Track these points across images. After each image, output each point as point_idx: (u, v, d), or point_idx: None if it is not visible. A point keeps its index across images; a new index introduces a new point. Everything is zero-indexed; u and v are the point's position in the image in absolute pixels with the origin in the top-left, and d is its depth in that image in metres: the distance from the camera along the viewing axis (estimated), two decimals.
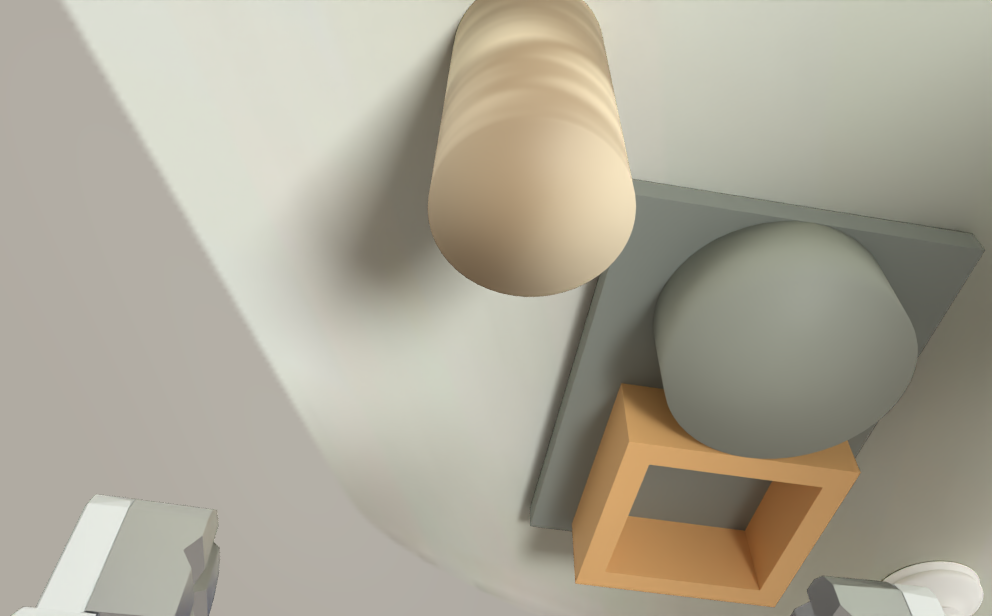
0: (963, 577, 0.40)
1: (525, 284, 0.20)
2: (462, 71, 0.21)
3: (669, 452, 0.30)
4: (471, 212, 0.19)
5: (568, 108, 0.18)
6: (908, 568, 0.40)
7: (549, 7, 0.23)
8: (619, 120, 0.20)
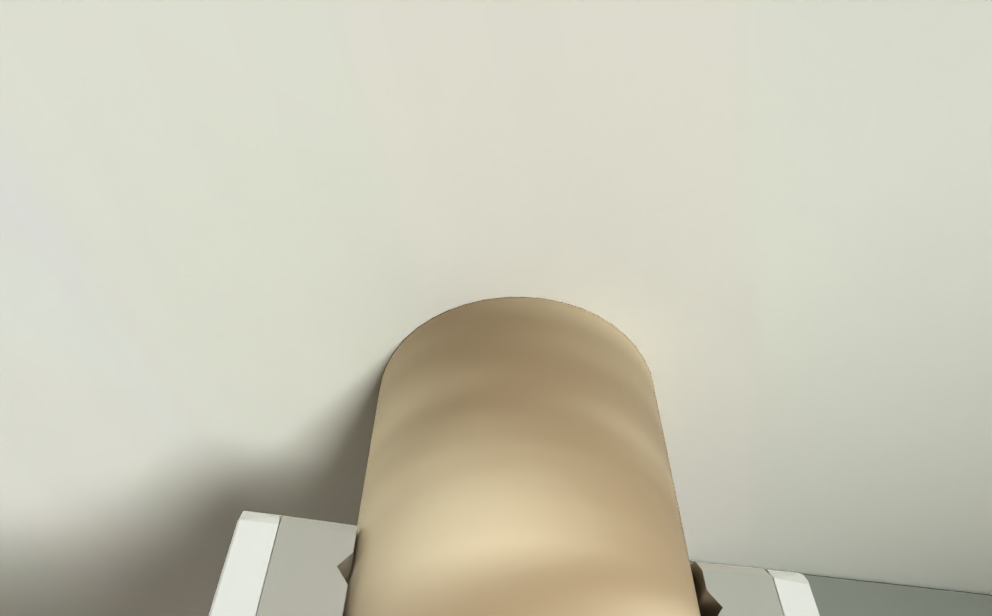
0: None
1: None
2: None
3: None
4: None
5: None
6: None
7: (559, 403, 0.11)
8: None
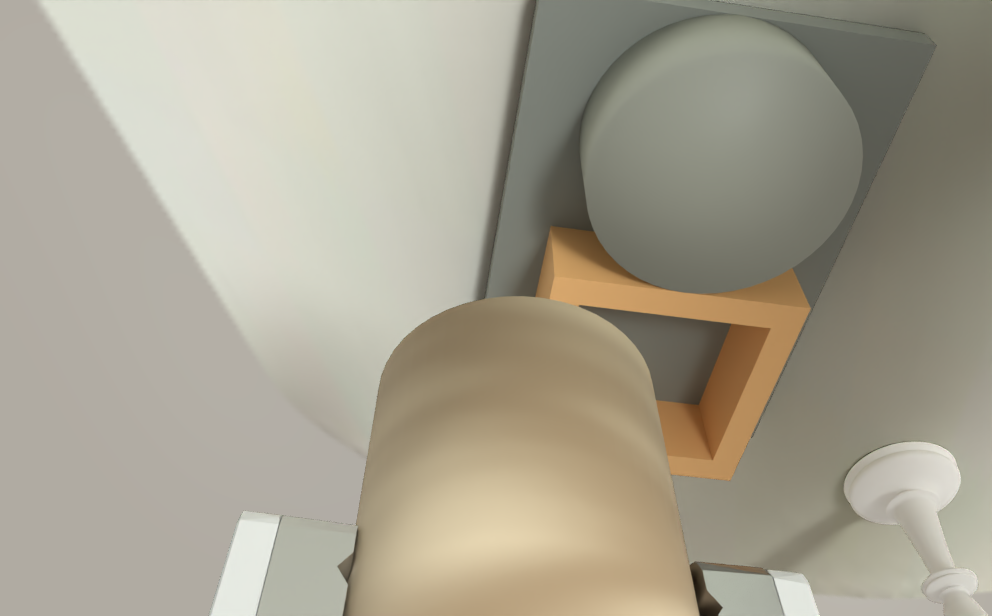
0: (938, 457, 0.37)
1: None
2: None
3: (599, 288, 0.28)
4: None
5: None
6: (879, 450, 0.38)
7: (557, 403, 0.11)
8: None
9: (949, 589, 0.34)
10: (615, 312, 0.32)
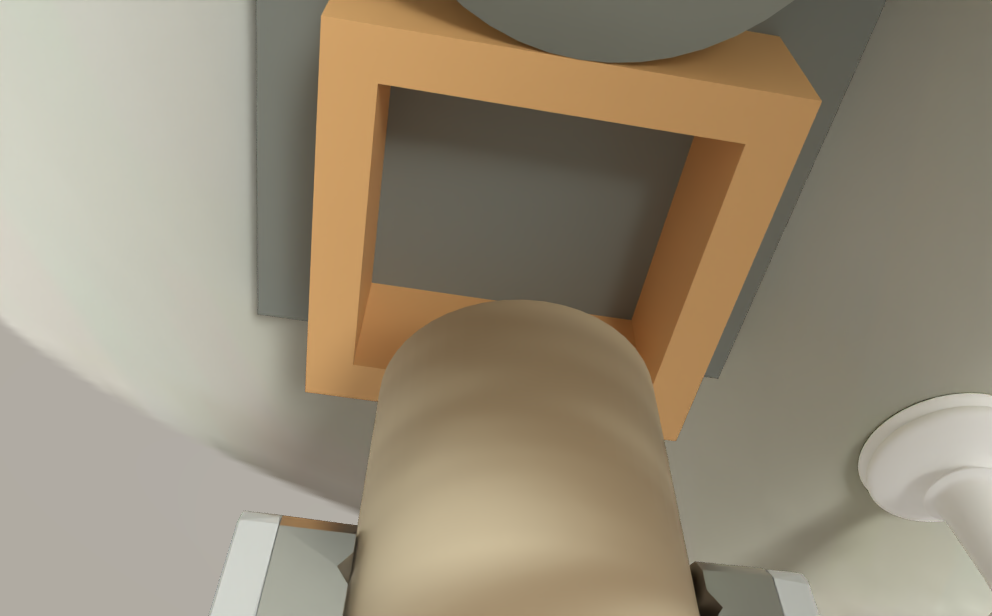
0: None
1: None
2: None
3: (413, 46, 0.14)
4: None
5: None
6: (915, 407, 0.24)
7: (558, 406, 0.11)
8: None
9: None
10: (482, 144, 0.19)
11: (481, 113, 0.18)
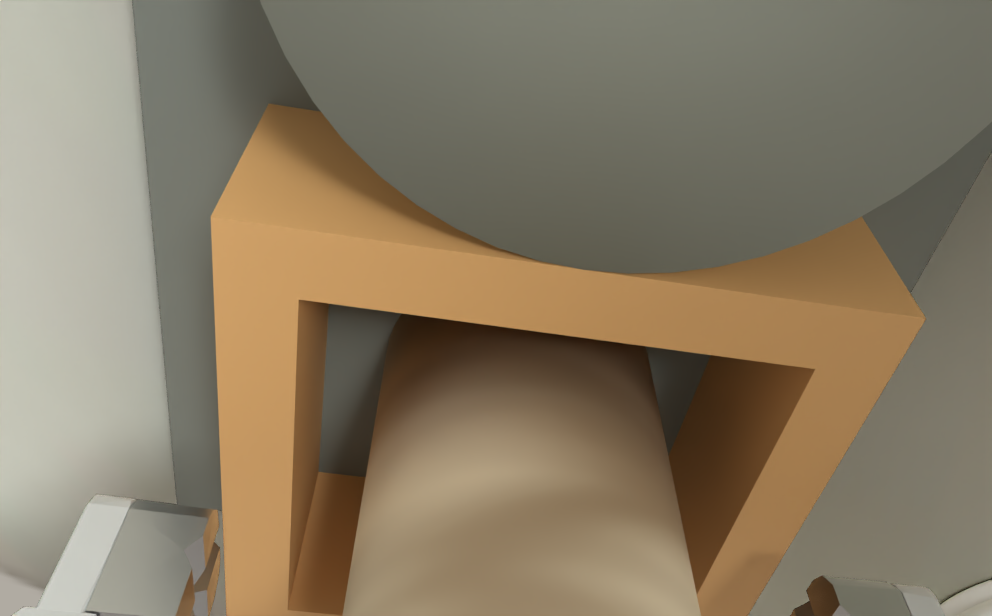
0: None
1: None
2: (380, 546, 0.10)
3: (346, 254, 0.10)
4: None
5: None
6: (986, 585, 0.20)
7: (555, 355, 0.12)
8: None
9: None
10: None
11: None
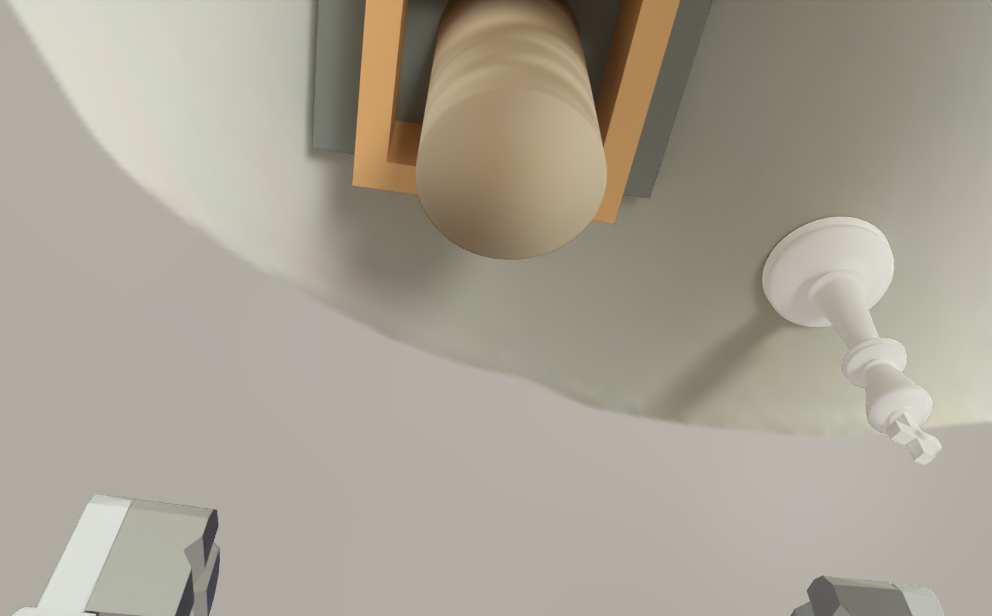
0: (866, 232, 0.32)
1: (507, 247, 0.21)
2: (446, 52, 0.23)
3: None
4: (455, 180, 0.20)
5: (543, 81, 0.20)
6: (800, 228, 0.33)
7: None
8: (592, 96, 0.22)
9: (873, 363, 0.29)
10: None
11: None
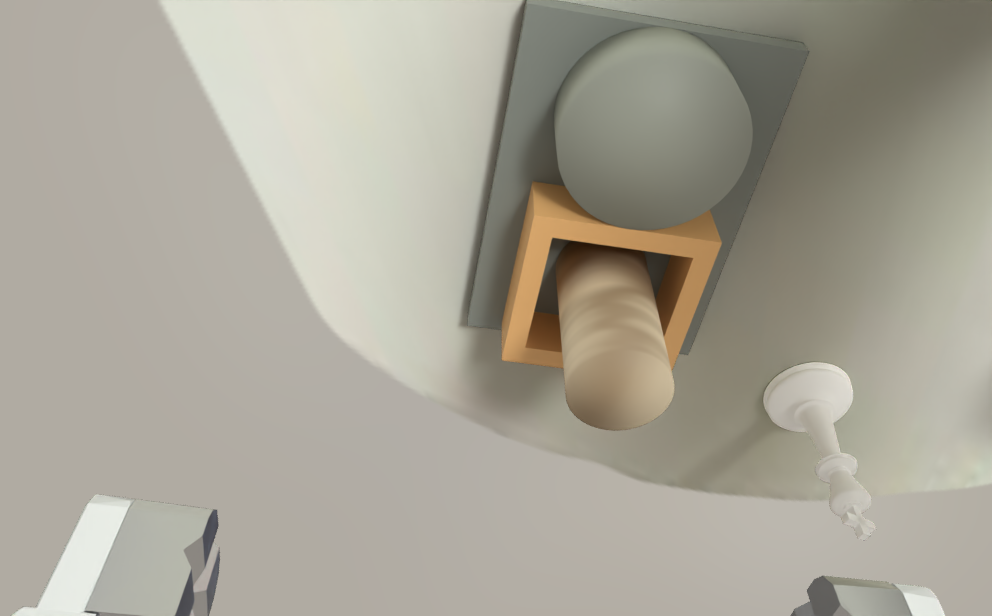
0: (833, 374, 0.47)
1: (614, 424, 0.37)
2: (575, 303, 0.38)
3: (567, 225, 0.38)
4: (588, 391, 0.36)
5: (640, 341, 0.35)
6: (789, 369, 0.48)
7: (618, 256, 0.40)
8: (662, 332, 0.38)
9: (835, 469, 0.44)
10: None
11: None
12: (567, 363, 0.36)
